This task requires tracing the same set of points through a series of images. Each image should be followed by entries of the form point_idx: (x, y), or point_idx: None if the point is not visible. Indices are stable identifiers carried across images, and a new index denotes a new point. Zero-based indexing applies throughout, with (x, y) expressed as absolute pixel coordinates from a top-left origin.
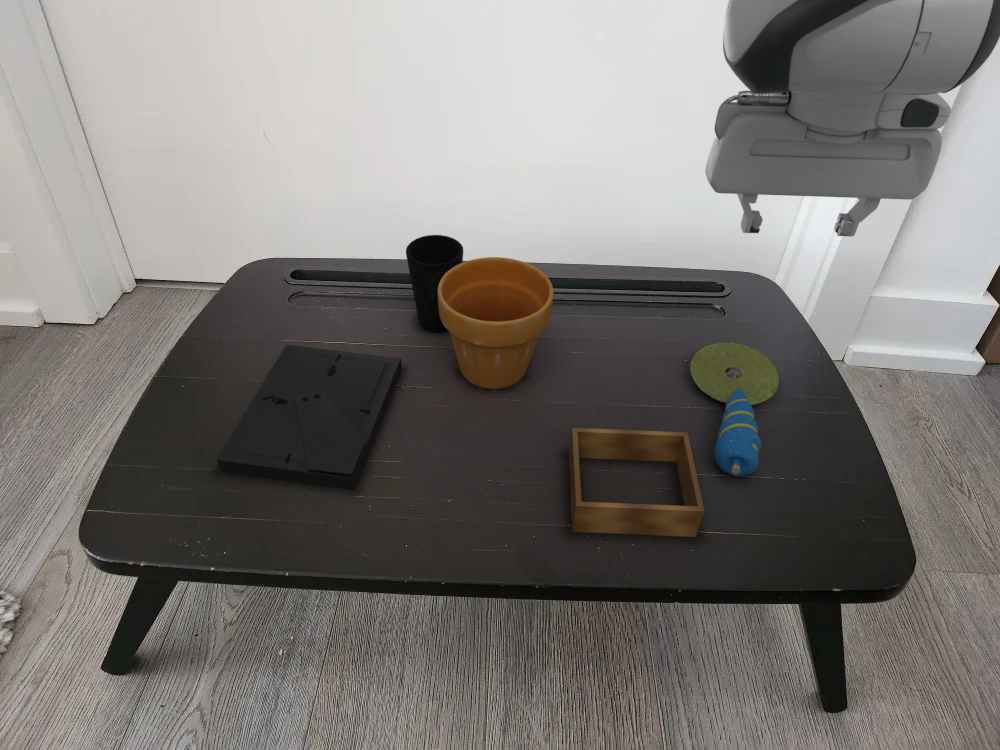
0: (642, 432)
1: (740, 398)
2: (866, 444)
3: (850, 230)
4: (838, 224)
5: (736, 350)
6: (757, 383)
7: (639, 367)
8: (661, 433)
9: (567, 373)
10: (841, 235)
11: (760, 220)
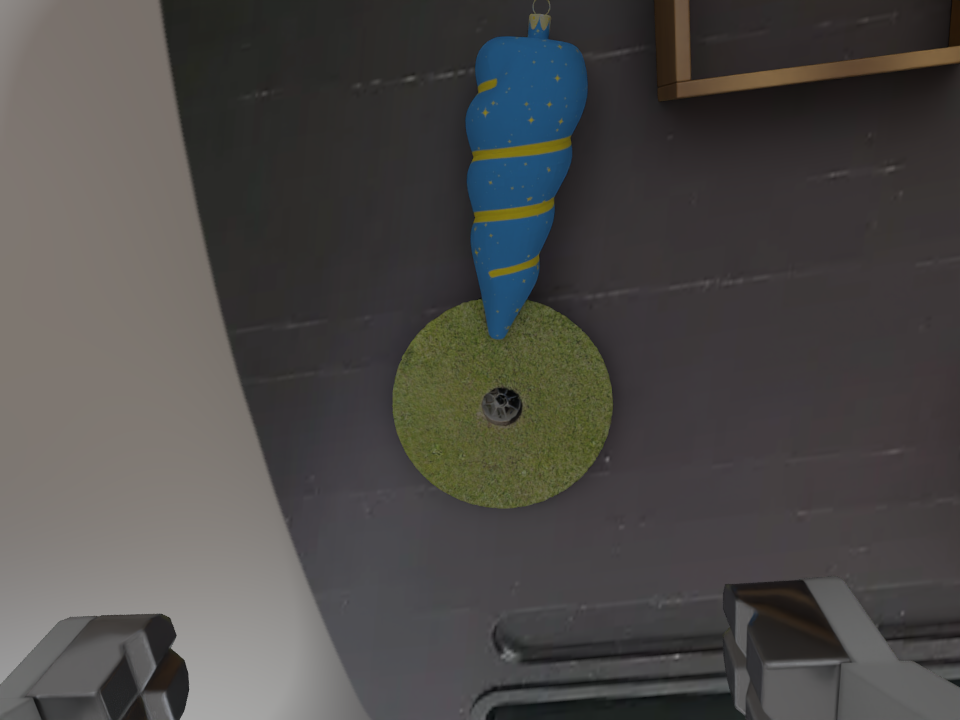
0: (810, 72)
1: (507, 276)
2: (202, 233)
3: (74, 643)
4: (154, 708)
5: (489, 482)
6: (445, 377)
7: (728, 418)
8: (754, 77)
9: (926, 370)
10: (145, 614)
11: (778, 653)
